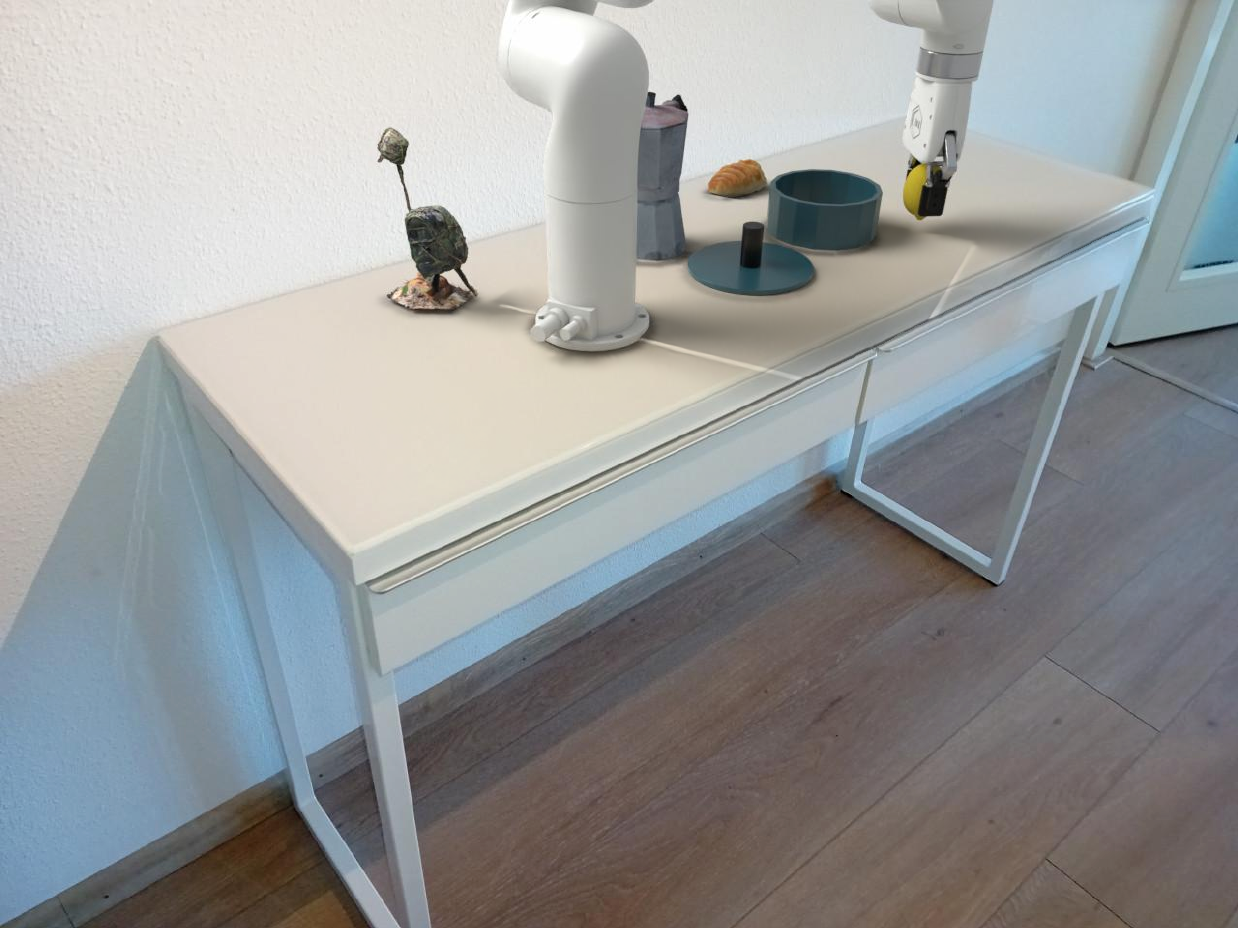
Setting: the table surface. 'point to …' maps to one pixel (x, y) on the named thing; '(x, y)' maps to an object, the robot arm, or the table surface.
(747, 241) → the lid
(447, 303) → the stone sculpture
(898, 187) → the table surface
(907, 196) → the lemon
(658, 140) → the moka pot
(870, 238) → the pot
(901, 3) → the robot arm
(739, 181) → the pastry
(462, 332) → the table surface
